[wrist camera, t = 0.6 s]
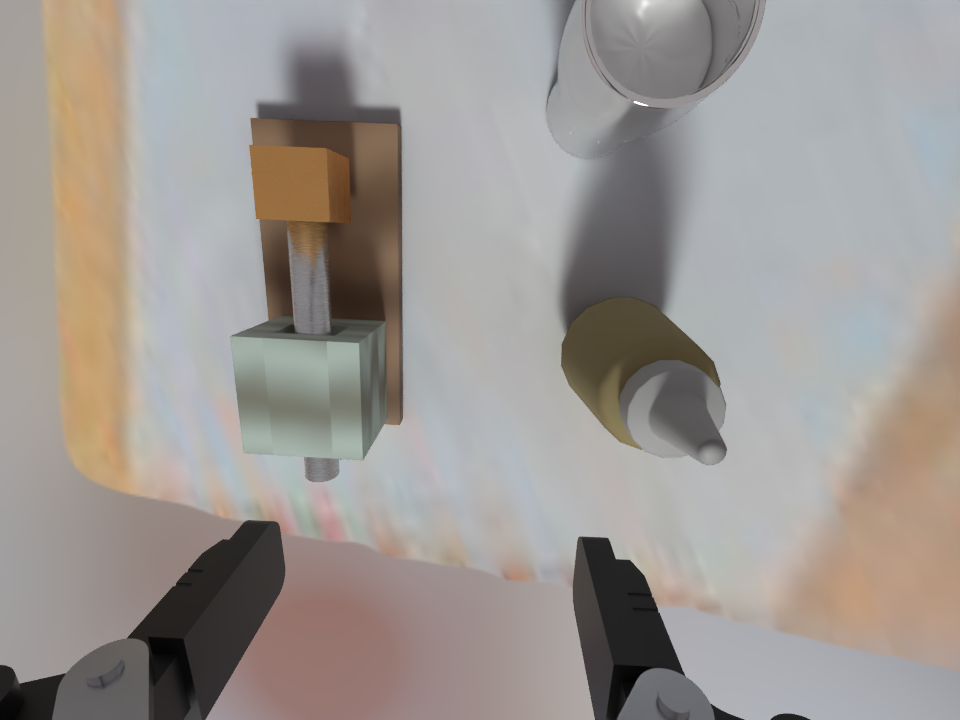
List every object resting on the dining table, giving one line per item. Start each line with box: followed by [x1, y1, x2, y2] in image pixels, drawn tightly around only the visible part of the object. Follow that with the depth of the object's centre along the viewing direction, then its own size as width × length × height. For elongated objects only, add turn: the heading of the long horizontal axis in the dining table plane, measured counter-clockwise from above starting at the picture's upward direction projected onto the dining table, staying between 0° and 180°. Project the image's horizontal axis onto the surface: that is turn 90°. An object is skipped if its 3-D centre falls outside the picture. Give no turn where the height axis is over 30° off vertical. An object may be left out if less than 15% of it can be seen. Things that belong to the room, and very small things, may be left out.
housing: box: [230, 118, 403, 460], centre depth 31 cm, size 22×10×8 cm, turn 178°
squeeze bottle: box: [561, 298, 727, 465], centre depth 26 cm, size 8×8×18 cm
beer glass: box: [547, 0, 766, 159], centre depth 23 cm, size 7×7×15 cm
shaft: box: [250, 145, 351, 482], centre depth 30 cm, size 22×4×4 cm, turn 178°
